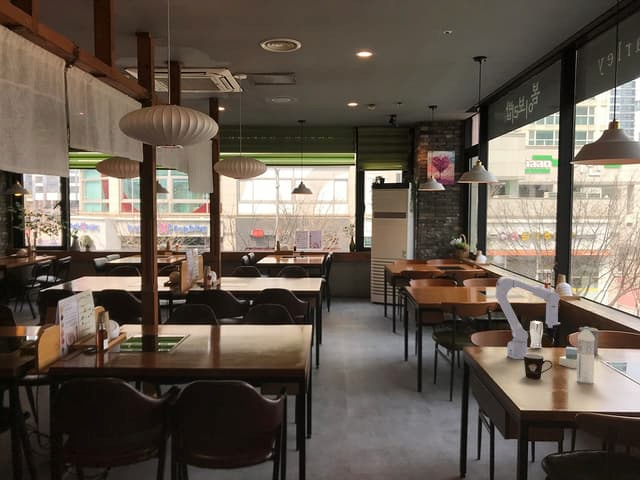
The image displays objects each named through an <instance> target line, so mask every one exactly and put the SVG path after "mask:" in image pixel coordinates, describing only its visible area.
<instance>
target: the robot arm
mask: <svg viewBox="0 0 640 480" xmlns="http://www.w3.org/2000/svg"><path fill="white" fill-rule="evenodd" d="M495 286H496V287H495V298H496V300H497V302H498V303H499V306H500V308H501V310H502V311H503V313H504V315H505V317H506V320H507V321H508V324H509V325H510V329H511V335H512V337H513V338H512V339H511V340H510V341H508V342H507V346H506V347H507V348H506V349H507V352H506V355H507V356H506V357H508V356H509V357H508V358H511V359H514V360H524V355H525V354H528V339H529V333H528V331H526V330H525V329H524V328H523V326H522V324H521V323H520V321H519V320H518V317H517V315H516V313H515V311H514V309H513V307H512V306H511V303H510V302H509V300H508V297H507V295H508V292H510V290H512V288H513V289H515V288H516V289H517V288H520V289H523V290H526V291H529V292H530V293H531V294H532V295H533V296H534V297H537V298H539V299H542V300H546V306H545V324H546V326H544V330H545V332H546V335H547V340H548V341H550V342H552V341H553V340H554V339H555V337H556V333H557V329H558V328H559V325H561V322H558V320H559V318H558V317H559V315H558V313H559V301H560V300H561V296H560V295H559V294H558V292H557V291H554V290H552V289H551V288H545V287H543V285H541V284H538V285H537V284H536V285H534V286H533V285H531V284H529V283H526V282H524V281H521V280H518V279H516V278H511V277H506V276H500V277H499V278H498V279H497V281H496V283H495Z"/></svg>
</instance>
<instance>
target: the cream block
mask: <svg viewBox="0 0 640 480" xmlns="http://www.w3.org/2000/svg"><path fill="white" fill-rule="evenodd" d="M558 359H559V363H558V365H560V366H563V367H567V368H571V369H577V360H576V359H567V358H566V355H563V356H559V357H558Z"/></svg>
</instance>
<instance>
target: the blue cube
mask: <svg viewBox="0 0 640 480" xmlns="http://www.w3.org/2000/svg"><path fill="white" fill-rule="evenodd" d="M577 352H578V347H574V346H566V348H565V356H566V358H567V359H576V360H577Z"/></svg>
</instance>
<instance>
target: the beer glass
mask: <svg viewBox="0 0 640 480" xmlns="http://www.w3.org/2000/svg"><path fill="white" fill-rule="evenodd" d="M529 323H530V324H529V333H530V334H529V335H530V341H531V342H530V348H531V349H535V348H541V349H543V347H542V337H543V333H544V326H543V325H544V323H543V321H539V320H537V321H536V320H532V321H530V322H529Z"/></svg>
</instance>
